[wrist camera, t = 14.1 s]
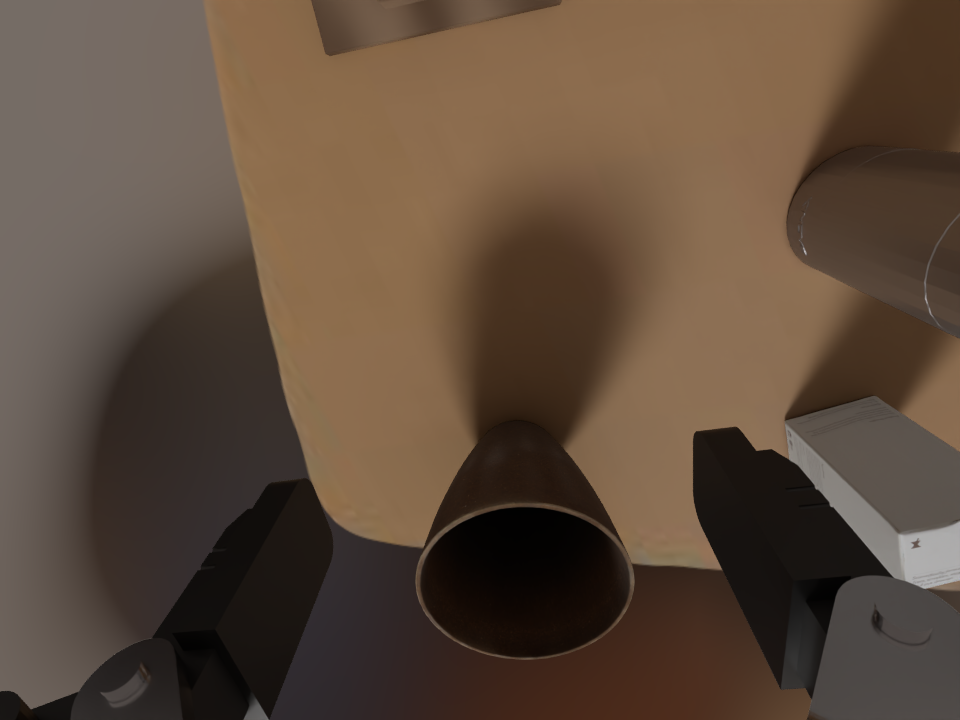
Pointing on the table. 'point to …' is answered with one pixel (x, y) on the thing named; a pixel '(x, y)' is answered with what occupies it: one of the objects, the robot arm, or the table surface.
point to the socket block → (405, 18)
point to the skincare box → (886, 485)
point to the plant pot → (523, 552)
